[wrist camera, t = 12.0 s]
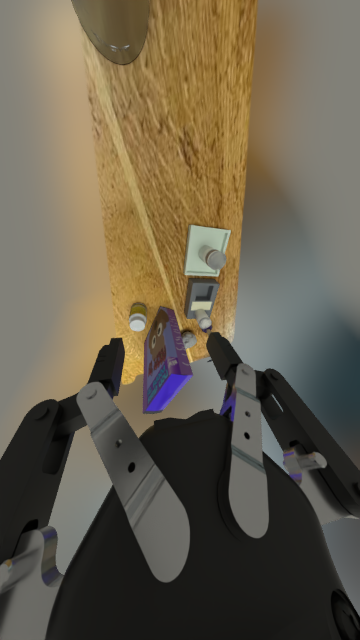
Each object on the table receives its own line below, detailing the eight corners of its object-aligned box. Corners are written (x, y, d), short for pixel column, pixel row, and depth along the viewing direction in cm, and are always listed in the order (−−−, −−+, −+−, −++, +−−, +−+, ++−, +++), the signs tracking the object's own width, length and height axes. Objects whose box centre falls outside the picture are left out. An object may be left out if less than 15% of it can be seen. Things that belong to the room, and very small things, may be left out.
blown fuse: (200, 243, 32) (212, 250, 26) (213, 246, 33) (228, 253, 27) (196, 259, 35) (207, 269, 28) (209, 261, 36) (222, 271, 29)
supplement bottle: (129, 303, 39) (125, 320, 33) (144, 301, 40) (144, 317, 33) (133, 316, 42) (131, 333, 36) (148, 313, 43) (148, 330, 36)
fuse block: (189, 278, 38) (199, 291, 31) (214, 279, 40) (229, 292, 32) (184, 312, 45) (191, 329, 38) (205, 311, 47) (216, 328, 39)
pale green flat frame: (188, 224, 30) (191, 225, 29) (227, 229, 32) (231, 230, 31) (183, 272, 37) (184, 274, 35) (215, 274, 39) (218, 276, 37)
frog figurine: (178, 327, 49) (182, 340, 44) (195, 328, 51) (201, 341, 46) (175, 339, 52) (179, 352, 47) (191, 339, 54) (196, 352, 49)
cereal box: (160, 306, 42) (171, 374, 23) (173, 310, 44) (193, 376, 25) (144, 342, 50) (142, 414, 32) (156, 344, 52) (161, 413, 33)
